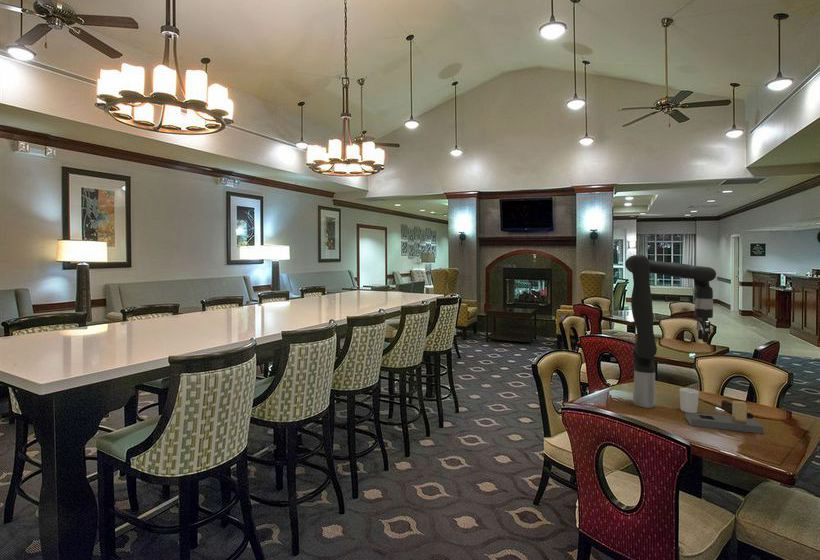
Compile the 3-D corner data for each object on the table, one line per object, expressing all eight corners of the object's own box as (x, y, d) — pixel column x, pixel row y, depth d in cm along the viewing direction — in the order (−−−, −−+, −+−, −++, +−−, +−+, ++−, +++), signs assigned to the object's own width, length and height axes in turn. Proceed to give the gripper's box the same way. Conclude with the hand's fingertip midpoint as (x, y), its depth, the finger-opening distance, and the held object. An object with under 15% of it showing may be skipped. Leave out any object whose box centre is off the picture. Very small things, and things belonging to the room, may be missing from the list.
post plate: (690, 425, 194) (691, 419, 194) (685, 418, 204) (685, 411, 203) (763, 433, 185) (763, 426, 185) (754, 425, 195) (754, 419, 194)
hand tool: (753, 422, 200) (754, 411, 200) (744, 421, 200) (744, 411, 200) (727, 408, 219) (728, 399, 219) (719, 408, 219) (719, 399, 219)
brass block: (735, 421, 191) (735, 403, 191) (732, 418, 195) (732, 400, 194) (746, 422, 190) (746, 404, 189) (742, 419, 193) (743, 401, 193)
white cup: (700, 410, 215) (700, 390, 214) (696, 414, 209) (697, 393, 208) (681, 407, 220) (681, 387, 220) (677, 410, 214) (677, 390, 214)
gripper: (691, 306, 226) (690, 338, 226) (698, 308, 212) (697, 342, 213) (708, 306, 223) (707, 339, 224) (717, 309, 210) (716, 343, 210)
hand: (702, 340), depth 218 cm, fingers open, 8 cm apart
